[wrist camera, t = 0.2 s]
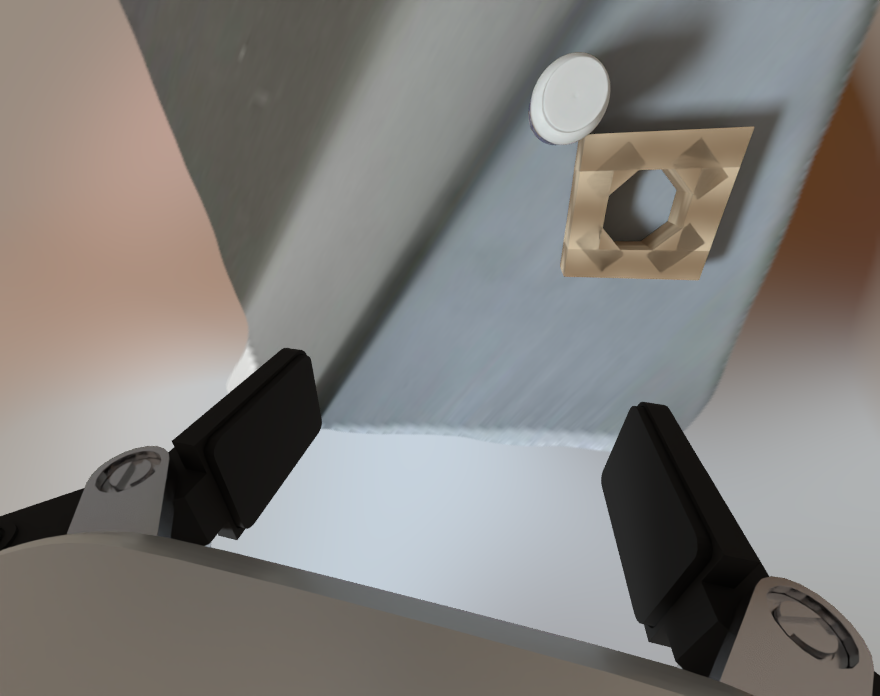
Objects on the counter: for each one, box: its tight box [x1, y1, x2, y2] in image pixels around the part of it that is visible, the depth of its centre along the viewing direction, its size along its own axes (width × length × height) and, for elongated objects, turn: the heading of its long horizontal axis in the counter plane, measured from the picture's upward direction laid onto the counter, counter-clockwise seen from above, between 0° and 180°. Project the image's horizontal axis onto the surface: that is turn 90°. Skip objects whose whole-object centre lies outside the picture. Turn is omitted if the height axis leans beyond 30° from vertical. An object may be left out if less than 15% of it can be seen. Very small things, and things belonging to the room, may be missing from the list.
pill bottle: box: [528, 52, 610, 145], centre depth 26 cm, size 5×5×10 cm
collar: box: [560, 127, 754, 280], centre depth 31 cm, size 12×12×4 cm
